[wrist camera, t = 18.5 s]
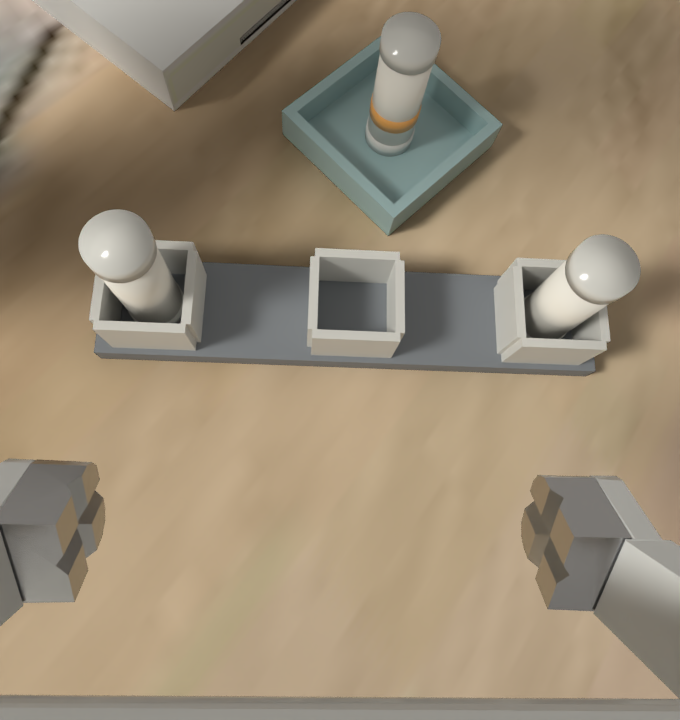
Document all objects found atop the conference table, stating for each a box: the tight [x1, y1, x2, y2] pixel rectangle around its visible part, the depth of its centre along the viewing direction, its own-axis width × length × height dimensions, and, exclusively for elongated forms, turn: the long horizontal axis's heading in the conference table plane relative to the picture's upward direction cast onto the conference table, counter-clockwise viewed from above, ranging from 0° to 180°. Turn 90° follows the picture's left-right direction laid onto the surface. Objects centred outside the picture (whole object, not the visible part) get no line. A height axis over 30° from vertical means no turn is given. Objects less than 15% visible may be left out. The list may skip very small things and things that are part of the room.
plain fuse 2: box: [524, 234, 641, 339], centre depth 37 cm, size 4×4×10 cm
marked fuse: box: [365, 12, 441, 157], centre depth 42 cm, size 4×4×10 cm
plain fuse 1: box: [78, 209, 184, 324], centre depth 36 cm, size 4×4×10 cm
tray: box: [282, 36, 503, 236], centre depth 46 cm, size 12×12×3 cm
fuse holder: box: [89, 240, 611, 376], centre depth 40 cm, size 7×35×6 cm, turn 89°
